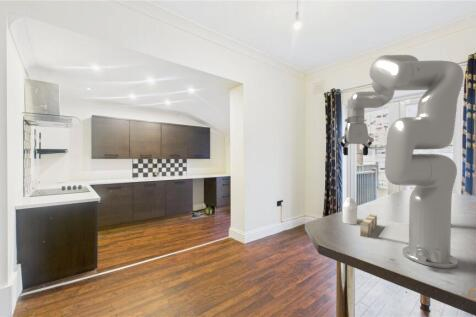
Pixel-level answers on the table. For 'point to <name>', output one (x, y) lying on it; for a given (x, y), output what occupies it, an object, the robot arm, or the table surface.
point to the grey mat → (396, 232)
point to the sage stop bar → (357, 219)
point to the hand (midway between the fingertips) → (355, 155)
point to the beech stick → (368, 225)
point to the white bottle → (350, 211)
